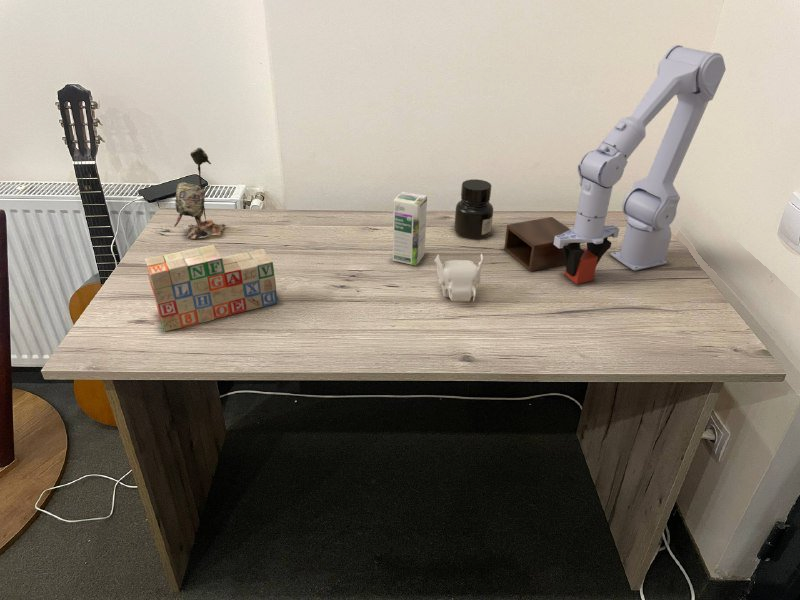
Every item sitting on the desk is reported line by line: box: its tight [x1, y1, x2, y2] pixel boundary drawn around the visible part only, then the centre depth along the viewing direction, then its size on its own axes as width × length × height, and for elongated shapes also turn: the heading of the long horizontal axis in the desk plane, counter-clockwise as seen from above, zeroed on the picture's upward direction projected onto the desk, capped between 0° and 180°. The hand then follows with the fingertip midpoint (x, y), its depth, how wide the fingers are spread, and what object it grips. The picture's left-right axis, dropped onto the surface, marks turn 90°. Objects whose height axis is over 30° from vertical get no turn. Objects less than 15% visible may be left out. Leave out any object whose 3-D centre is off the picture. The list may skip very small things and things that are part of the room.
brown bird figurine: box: [173, 147, 227, 240], centre depth 137 cm, size 8×11×20 cm
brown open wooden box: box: [503, 216, 581, 272], centre depth 133 cm, size 12×11×6 cm
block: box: [564, 247, 598, 285], centre depth 125 cm, size 4×4×6 cm
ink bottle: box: [453, 178, 494, 240], centre depth 142 cm, size 10×9×12 cm
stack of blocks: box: [144, 244, 279, 332], centre depth 111 cm, size 21×6×12 cm, turn 117°
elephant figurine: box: [433, 253, 484, 302], centre depth 118 cm, size 10×12×9 cm
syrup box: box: [392, 191, 428, 266], centre depth 129 cm, size 6×6×14 cm
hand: (579, 271), depth 126 cm, fingers closed on block, 4 cm apart
